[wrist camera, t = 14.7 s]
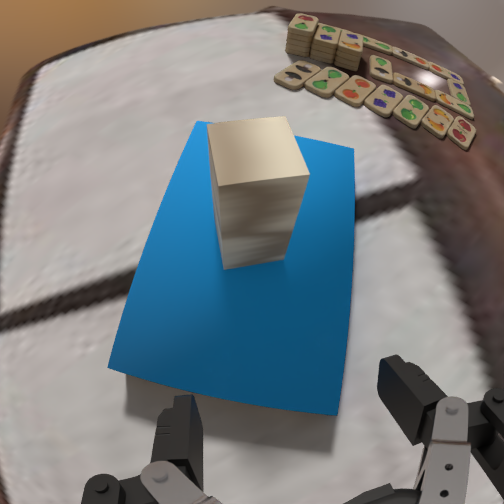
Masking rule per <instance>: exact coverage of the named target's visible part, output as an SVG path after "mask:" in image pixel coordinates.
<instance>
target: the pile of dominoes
mask: <svg viewBox="0 0 504 504" xmlns="http://www.w3.org/2000/svg"><path fill="white" fill-rule="evenodd" d="M318 21H319V20H318V18H316V17H314V16H310V15H305V14H296V15H295V17H294V18H293V20H292V21H291V23H290V24H289V26H288V34H287V40H286V41H287V43H286V49H285V51H286V52H287V53H290V54H294V55H298V56H303V57H310V58H312V59H314V60H318V61H322V62H326V63H334V64H335V65H336V66H339V67H342V68H346V69H349V70H352V71H357V70H358V66H359V62H360V58H361V55H362V50H363V46H365V47H368V48H371V49H374V50H377V51H380V52H382V53H385V54H388V55H393V56H394V57H397V58H399V59H402V60H404V61H407V62H409V63H412V64H414V65H416V66H419V67H421V68H423V69H426V70H429V71H431V72H432V73H434V74H436V75H438V76H441V77H443V78H445V79H447V83H448V87H449V90H450V93H451V96H450V95H447V94H445V93H443V92H441V91H439V90H435V91H434V90H433V89H432V88H431V87H429V86H427V85H425V84H422V83H420V82H418V81H415V80H413V79H411V78H408V77H406V76H403V75H401V74H398V73H393V74H392V66H391V62H390V61H388V60H386V59H384V58H381V57H378V56H374V55H371V56H370V59H369V61H370V76H371V77H373V78H375V79H378V80H381V81H384V82H387V83H393V84H394V85H395V86H397V87H400V88H402V89H405V90H407V91H410V92H412V93H414V94H417V95H419V96H421V97H424V98H426V99H428V100H431V101H436V102H437V103H439V104H441V105H443V106H445V107H447V108H449V109H451V110H453V111H455V112H457V113H459V114H461V115H463V116H465V117H467V118H469V119H471V120H472V119H473V118H474V114H473V111H472V108H471V107H470V101H469V98H468V96H467V93H466V90H465V87H464V86H463V85H464V83H463V80H462V78H461V77H460V76H459V75H457V74H455V73H453V72H451V71H449V70H447V69H445V68H443V67H441V66H439V65H436V64H434V63H432V62H427V60H425V59H423V58H421V57H418V56H416V55H414V54H411V53H409V52H406V51H404V50H402V49H399V48H396V47H391V46H390V45H388V44H385V43H383V42H380V41H377V40H374V39H371V38H369V37H366V36H363V35H359V34H355V33H352V32H350V31H347V30H343V29H340V28H336V27H332V26H329V25H325V24H321V23H318ZM274 82H275V83H277V84H280V85H282V86H284V87H286V88H289V89H291V90H298V89H300V88H301V87H305V89H307V90H309V91H311V92H313V93H315V94H317V95H319V96H321V97H324V98H329V97H331V96H332V95H334V96H335V97H336V98H338V99H340V100H342V101H344V102H346V103H348V104H350V105H351V106H354V107H359V106H361V105H362V104H364V105H365V106H366V107H367V108H369V109H371V110H372V111H374V112H376V113H377V114H379V115H380V116H383V117H389V116H390V115H391V114H393V116H394V117H395V118H397V119H398V120H400V121H401V122H403V123H404V124H406V125H407V126H409V127H411V128H416V127H417V126H418V125H419V124H421V125H422V126H423V127H424V128H425V129H427V130H428V131H429V132H431V133H432V134H434V135H435V136H436V137H438V138H441V139H442V138H443V137H444V136H445V135H447V136H448V138H450V139H451V140H452V141H453V142H455V143H456V144H457V145H458V146H459V147H461V148H462V149H464V150H467V149H468V147H469V145H470V143H471V141H472V139H473V137H474V135H475V133H476V129H475V128H474V127H473V126H472V125H471V124H470V123H469V122H467V121H466V120H465V119H464V118H462V117H460V116H458V117H456V119H455V120H454V119H453V117H452V116H451V115H450V114H449V113H447V112H446V111H445V110H443V109H442V108H441V107H439V106H437V105H434V106H433V107H432V108H431V109H430V110H429V108H428V106H427V105H426V104H425V103H423V102H422V101H420V100H419V99H417V98H416V97H414V96H412V95H408V96H406V98H405V99H403V96H402V95H401V94H400V93H398V92H397V91H395V90H393V89H392V88H390V87H388V86H386V85H381V86H380V87H378V88H377V89H376V86H375V84H374V83H372V82H370V81H368V80H366V79H364V78H362V77H360V76H357V75H354V76H352V77H351V78H349V76H348V75H347V74H346V73H344V72H342V71H340V70H338V69H336V68H333V67H326V68H325V69H323V70H322V71H321V68H320V67H318V66H316V65H314V64H312V63H310V62H307V61H304V60H298V61H297V62H295V63H293V64H292V65H290V66H289V67H287V68H285V69H284V70H282V71H281V72H279V73H277V74H276V75H275V76H274Z"/></svg>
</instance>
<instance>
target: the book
mask: <svg viewBox="0 0 504 504" xmlns="http://www.w3.org/2000/svg"><path fill="white" fill-rule="evenodd" d="M207 124H212V123H210V122H202V121H197V122H196V124H195V126H194V128H193V130H192V132H191V135H190V137H189V139H188V141H187V143H186V146H185V148H184V150H183V152H182V155H181V157H180V159H179V161H178V164H177V166H176V168H175V171H174V173H173V175H172V178H171V180H170V183H169V185H168V187H167V190H166V192H165V195H164V197H163V200H162V202H161V205H160V207H159V210H158V212H157V215H156V218H155V220H154V223H153V226H152V228H151V231H150V234H149V236H148V239H147V242H146V244H145V247H144V250H143V253H142V256H141V259H140V261H139V264H138V267H137V270H136V273H135V276H134V279H133V282H132V285H131V288H130V291H129V294H128V298H127V301H126V304H125V307H124V310H123V314H122V317H121V320H120V324H119V327H118V331H117V334H116V338H115V341H114V345H113V348H112V352H111V356H110V360H109V363H108V367H107V368H110V369H113V370H116V371H119V372H122V373H125V374H128V375H131V376H135V377H138V378H141V379H145V380H148V381H152V382H155V383H159V384H162V385H166V386H170V387H174V388H177V389H181V390H185V391H189V392H194V393H198V394H202V395H207V396H211V397H216V398H221V399H225V400H230V401H236V402H241V403H246V404H252V405H258V406H264V407H270V408H277V409H283V410H291V411H298V412H307V413H315V414H325V415H335V416H337V414H338V407H339V401H340V394H341V387H342V380H343V372H344V364H345V355H346V347H347V337H348V327H349V316H350V303H351V289H352V273H353V252H354V218H355V170H354V149H353V148H349V147H345V146H340V145H336V144H332V143H327V142H323V141H318V140H313V139H309V138H304V137H299V136H294V137H295V140H296V142H297V144H298V147H299V149H300V151H301V154H302V156H303V159H304V161H305V163H306V166H307V168H308V171H309V173H310V176H309V180H308V183H307V186H306V190H305V193H304V196H303V199H302V203H301V206H300V209H299V213H298V216H297V219H296V222H295V225H294V229H293V232H292V235H291V238H290V241H289V245H288V248H287V251H286V254H285V257H284V260H278V261H273V262H267V263H261V264H255V265H250V266H244V267H238V268H232V269H226V270H224V268H223V263H222V257H221V252H220V247H219V241H218V236H217V230H216V225H215V219H214V210H213V199H212V187H211V175H210V163H209V150H208V136H207Z"/></svg>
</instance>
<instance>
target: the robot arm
mask: <svg viewBox="0 0 504 504" xmlns="http://www.w3.org/2000/svg"><path fill="white" fill-rule="evenodd" d="M377 390H378V394H379V397H380V399H381V400H382V402H383V403H384V405H385V406H386V408H387V409H388V410H389V412H390V413H391V415H392V416H393V418H394V419H395V421H396V422H397V423H398V425H399V426H400V428H401V429H402V431H403V432H404V434H405V435H406V437H407V438H408V439H409V441H410V442H411V444H412V445H413V446H414V445H416V444H419V443H421V442H422V443H423V444H424V448H423V451H422V456H421V460H420V465H419V469H418V473H417V477H416V481H415V484H414V487H413V489H393V488H392V486H391V484H390V483H389V484H386V485H383V486H381V487H378V488H375V489H372V490H369V491H366V492H364V493H362V494H360V495H358V496H357V497H355V498H353V499H351V500H349V501H348V502H346V503H344V504H464V503H465V497H466V490H467V483H468V474H469V464H470V452H471V453H472V455H473V456H474V458H475V459H476V460H477V462H478V463H479V465H480V466H481V467H482V469H483V470H484V472H485V473H486V475H487V476H488V477H489V479H490V480H491V482H492V483H493V485H494V486H495V488H496V489H497V491H498V492H499V494H500V495H501V497H502V498H503V500H504V442H503V440H502V439H501V438H500V437H499V436H498V433H500V434H501V435H502V437H503V438H504V390H503V389H499V388H496V389H491V390H489V391H487V392H486V393H485V395H484V398H483V400H482V401H477V402H472V403H466V402H465V401H464V400H463V399H461V398H458V397H448V396H447V395H446V394H445V393H444V392H443V391H442V390H441V389H440V388H439V387H438V386H437V385H436V384H435V383H434V382H433V381H432V380H430V378H429V376H428V375H427V374H425V372H424V371H423V370H422V369H421V368H420V367H419V366H417V365H415V364H413V363H411V362H407V363H405V362H404V361H403V359H402V358H401V357H400V356H399V355H393V356H389V357H386V358H383V359H381V360H380V364H379V374H378V383H377ZM155 435H156V436H155V438H154V444H153V450H152V457H151V462H150V464H149V465H147V466H146V467H145V468H144V469H143V470H142V472H141V474H140V475H138V476H136V477H132V478H128V479H124V480H120V481H118V480H117V479H116V478H115V477H114V476H112V475H109V474H98V475H95V476H93V477H92V478H90V479H89V480H88V481H87V483H86V485H85V488H84V492H83V497H82V501H81V504H222V503H221V502H220V501H219V500H217V499H216V498H215V497H213V496H210V497H208V496H207V495H206V494H204V493H203V427H202V422H201V418H200V415H199V412H198V409H197V405H196V402H195V398H194V396H193V395H182V396H175V398H174V405H173V408H169V409H164V410H163V411H162V413H161V414H160V415H159V417H158V421H157V428H156V432H155ZM503 504H504V501H503Z"/></svg>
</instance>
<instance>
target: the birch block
mask: <svg viewBox="0 0 504 504" xmlns="http://www.w3.org/2000/svg"><path fill="white" fill-rule="evenodd" d="M207 136H208V150H209V163H210V175H211V187H212V199H213V210H214V219H215V225H216V230H217V236H218V241H219V247H220V252H221V257H222V263H223V268H224V270H226V269H232V268H238V267H244V266H250V265H255V264H261V263H267V262H273V261H278V260H284V257H285V254H286V251H287V248H288V245H289V241H290V238H291V235H292V232H293V229H294V225H295V222H296V219H297V216H298V213H299V209H300V206H301V203H302V199H303V196H304V193H305V190H306V186H307V183H308V180H309V176H310V173H309V171H308V168H307V166H306V163H305V161H304V159H303V156H302V154H301V151H300V149H299V147H298V144H297V142H296V140H295V137H294V135H293V133H292V130H291V128H290V126H289V123H288V121H287V119H286V117H285V116H283V117H269V118H257V119H247V120H237V121H228V122H220V123H212V124H207Z"/></svg>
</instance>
